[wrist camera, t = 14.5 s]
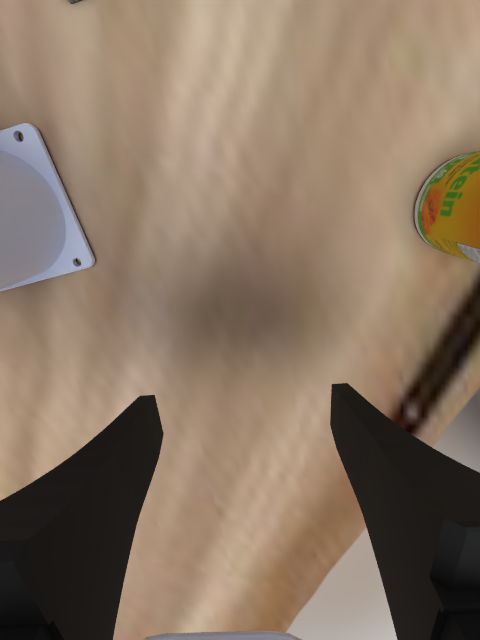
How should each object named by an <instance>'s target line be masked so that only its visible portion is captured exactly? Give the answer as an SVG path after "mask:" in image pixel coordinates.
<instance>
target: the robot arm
mask: <svg viewBox="0 0 480 640" xmlns="http://www.w3.org/2000/svg"><path fill="white" fill-rule="evenodd" d="M20 132H21V133H22V134H23V137H24V139H23V141H22V142H21V141H20V140H19V137H18V135H19V133H20ZM76 258H78V259H79V260H80V261H81V265H79V264H77V263H76ZM94 263H95V258H94V256H93V253H92V251H91V249H90V246H89V244H88V242H87V240H86V237H85V235H84V233H83V230H82V228H81V226H80V224H79V221H78V219H77V217H76V214H75V212H74V210H73V208H72V205H71V203H70V201H69V199H68V196H67V194H66V192H65V189H64V187H63V185H62V183H61V180H60V178H59V176H58V173H57V171H56V169H55V167H54V164H53V162H52V160H51V158H50V155H49V153H48V151H47V148H46V146H45V144H44V142H43V139H42V137H41V135H40V132H39V131H38V129H37V128H36V127H35V126H34V125H31V124H28V123H22V124H19V125H16V126H13V127H10V128H7V129H4V130H1V131H0V291H4V290H7V289H11V288H15V287H19V286H22V285H26V284H30V283H34V282H38V281H41V280H45V279H49V278H53V277H56V276H60V275H64V274H68V273H71V272H75V271H79V270H83V269H86V268H89V267H91V266H93V265H94ZM330 425H331V429H332V433H333V437H334V441H335V444H336V448H337V450H338V453H339V456H340V458H341V461H342V463H343V465H344V468H345V470H346V473H347V475H348V478H349V480H350V483H351V485H352V488H353V490H354V492H355V495H356V497H357V500H358V502H359V505H360V508H361V511H362V513H363V517H364V520H365V523H366V526H367V530H368V533H369V536H370V540H371V543H372V547H373V550H374V554H375V557H376V560H377V564H378V568H379V571H380V575H381V578H382V582H383V586H384V589H385V593H386V597H387V601H388V604H389V608H390V612H391V616H392V620H393V624H394V628H395V632H396V636H397V639H398V640H480V473H479V472H477V471H475V470H473V469H471V468H469V467H467V466H465V465H462V464H461V463H458V462H457V461H455V460H453V459H451V458H449V457H448V456H446V455H444V454H442V453H440V452H439V451H437V450H435V449H433V448H432V447H430V446H428V445H427V444H425V443H424V442H422V441H420V440H419V439H417V438H416V437H414V436H413V435H411V434H410V433H408V432H407V431H405V430H404V429H403V428H401V427H400V426H398V425H397V424H396V423H394V422H393V421H392V420H390V419H389V418H388V417H386V416H385V415H384V414H383V413H381V412H380V411H379V410H378V409H376V408H375V407H374V406H373V405H372V404H371V403H369V402H368V401H367V400H366V399H365V398H364V397H362V396H361V395H360V394H359V393H358V392H357V391H356V390H355V389H353V388H352V387H351V386H350V385H349V384H348V383H343V384H332V394H331V420H330ZM162 439H163V430H162V425H161V421H160V416H159V412H158V408H157V403H156V399H155V395H147V396H140V397H138V398H137V399H136V400H135V401H134V402H133V403H132V404H131V405H130V406H129V407H127V408H126V409H125V410H124V411H123V412H122V413H121V414H120V415H119V416H118V417H117V418H116V419H115V420H114V421H113V422H112V423H110V424H109V425H108V426H107V427H106V428H105V429H104V430H103V431H102V432H100V433H99V434H98V435H97V436H96V437H94V438H93V439H92V440H91V441H90V442H89V443H87V444H86V445H85V446H84V447H83V448H81V449H80V450H79V451H78V452H76V453H75V454H74V455H72V456H71V457H70V458H68V459H67V460H65V461H64V462H63V463H61V464H60V465H58V466H57V467H56V468H54V469H53V470H51V471H49V472H48V473H46V474H45V475H43V476H42V477H40V478H39V479H37V480H35V481H34V482H32V483H31V484H29V485H27V486H26V487H24V488H22V489H21V490H19V491H17V492H15V493H14V494H12V495H10V496H8V497H7V498H5V499H3V500H1V501H0V640H113V635H114V629H115V623H116V618H117V613H118V608H119V603H120V597H121V592H122V587H123V582H124V578H125V573H126V568H127V564H128V559H129V555H130V550H131V546H132V542H133V538H134V533H135V529H136V525H137V522H138V518H139V515H140V512H141V509H142V506H143V503H144V500H145V497H146V494H147V491H148V488H149V485H150V482H151V480H152V477H153V474H154V471H155V468H156V465H157V462H158V458H159V454H160V450H161V445H162ZM144 640H301V639H299V638H297V637H295V636H293V635H291V634H289V633H283V632H275V631H236V632H201V633H166V634H161V635H155V636H150V637H146V638H145V639H144Z"/></svg>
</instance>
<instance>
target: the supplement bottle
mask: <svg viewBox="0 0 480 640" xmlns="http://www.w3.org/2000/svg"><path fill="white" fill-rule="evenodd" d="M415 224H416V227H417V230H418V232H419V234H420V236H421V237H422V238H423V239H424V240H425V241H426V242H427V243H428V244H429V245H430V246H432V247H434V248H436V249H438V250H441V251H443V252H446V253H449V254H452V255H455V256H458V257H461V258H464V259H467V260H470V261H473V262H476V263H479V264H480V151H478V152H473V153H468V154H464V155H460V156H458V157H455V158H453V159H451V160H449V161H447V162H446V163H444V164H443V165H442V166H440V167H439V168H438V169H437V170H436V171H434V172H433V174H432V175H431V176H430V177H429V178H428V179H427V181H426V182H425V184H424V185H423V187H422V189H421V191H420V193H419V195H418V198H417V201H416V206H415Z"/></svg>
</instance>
